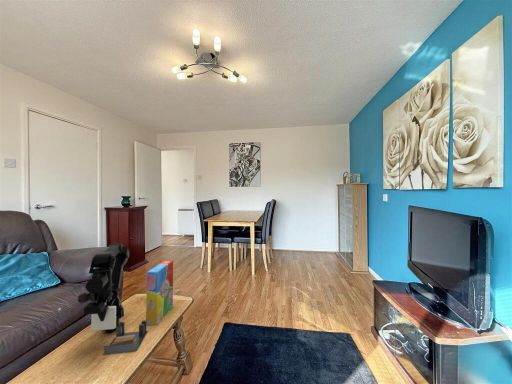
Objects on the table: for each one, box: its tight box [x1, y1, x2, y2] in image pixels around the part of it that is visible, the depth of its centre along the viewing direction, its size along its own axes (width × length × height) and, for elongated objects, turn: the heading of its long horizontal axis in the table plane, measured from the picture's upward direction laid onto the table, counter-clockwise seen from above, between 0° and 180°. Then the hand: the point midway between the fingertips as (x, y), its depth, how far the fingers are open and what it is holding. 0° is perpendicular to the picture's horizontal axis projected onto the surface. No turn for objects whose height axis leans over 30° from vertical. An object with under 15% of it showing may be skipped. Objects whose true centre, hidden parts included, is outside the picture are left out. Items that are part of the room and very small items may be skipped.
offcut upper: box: [113, 335, 135, 345], centre depth 95 cm, size 3×7×2 cm, turn 104°
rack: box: [102, 319, 149, 356], centre depth 98 cm, size 14×13×6 cm
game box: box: [145, 259, 174, 327], centre depth 121 cm, size 21×6×27 cm, turn 179°
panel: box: [90, 306, 116, 332], centre depth 96 cm, size 1×9×9 cm, turn 99°
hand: (103, 320), depth 96 cm, fingers closed on panel, 1 cm apart
